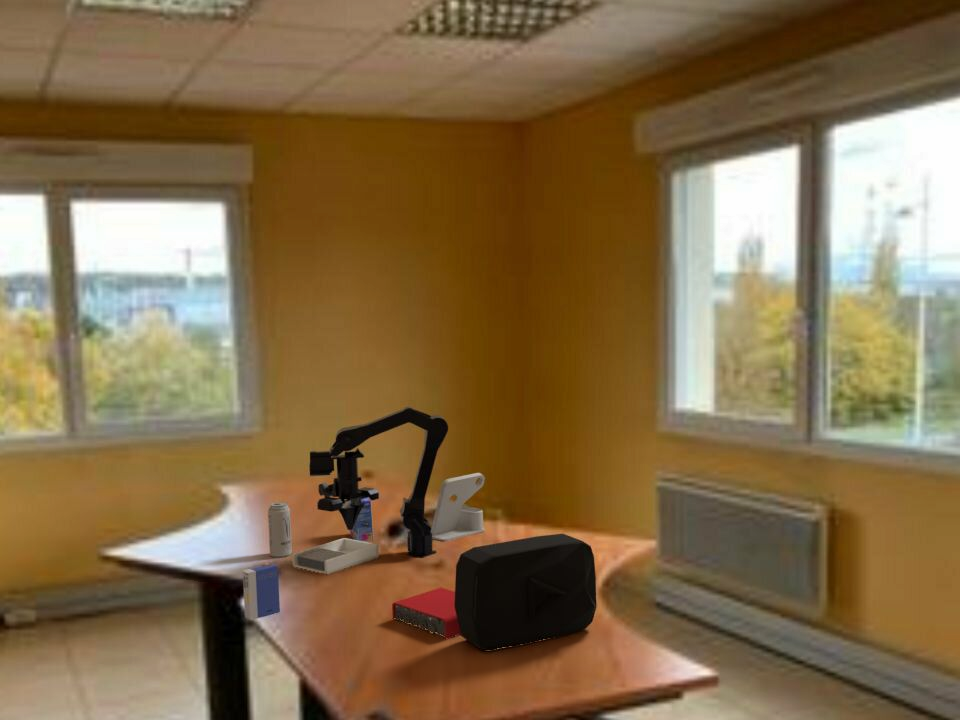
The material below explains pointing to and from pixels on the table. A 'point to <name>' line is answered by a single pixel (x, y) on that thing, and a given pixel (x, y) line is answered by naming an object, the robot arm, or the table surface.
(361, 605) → the table surface
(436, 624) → the red device housing
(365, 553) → the tray
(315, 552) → the cover plate
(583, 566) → the black hard case
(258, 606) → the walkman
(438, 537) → the phone holder
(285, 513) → the energy drink can
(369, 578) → the table surface
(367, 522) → the ink cartridge box
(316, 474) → the robot arm
